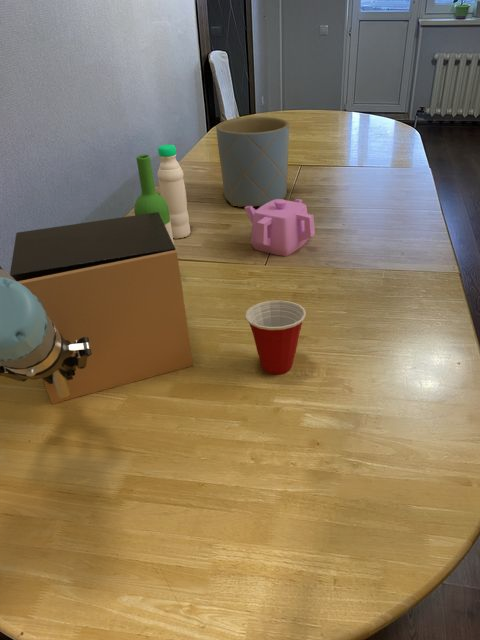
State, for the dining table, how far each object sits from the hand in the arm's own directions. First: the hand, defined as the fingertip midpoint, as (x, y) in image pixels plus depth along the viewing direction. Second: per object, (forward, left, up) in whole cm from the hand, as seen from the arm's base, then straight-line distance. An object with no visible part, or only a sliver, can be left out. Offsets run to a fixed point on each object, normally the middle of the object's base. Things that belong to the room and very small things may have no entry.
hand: (59, 373), depth 85 cm
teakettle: (-32, +71, -8) cm, 78 cm away
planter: (-66, +87, -8) cm, 109 cm away
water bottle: (-56, +52, -8) cm, 77 cm away
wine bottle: (-33, +35, -8) cm, 49 cm away
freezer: (-11, +14, -8) cm, 20 cm away
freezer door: (+2, +10, -8) cm, 13 cm away
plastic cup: (+12, +36, -8) cm, 39 cm away
